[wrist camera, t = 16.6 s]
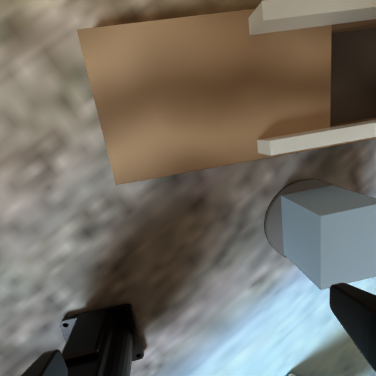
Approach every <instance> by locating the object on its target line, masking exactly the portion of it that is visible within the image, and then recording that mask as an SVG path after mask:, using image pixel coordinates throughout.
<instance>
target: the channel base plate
mask: <svg viewBox="0 0 376 376" xmlns="http://www.w3.org/2000/svg"><path fill="white" fill-rule="evenodd" d="M255 9H256V8H255ZM255 9H247V10H239V11H230V12H222V13H213V14H205V15H196V16H188V17H180V18H171V19H163V20H154V21H146V22H137V23H129V24H121V25H112V26H104V27H95V28H87V29H78V30H77V33H78V37H79V41H80V44H81V48H82V52H83V56H84V60H85V64H86V68H87V72H88V76H89V80H90V84H91V88H92V92H93V96H94V100H95V104H96V108H97V112H98V116H99V120H100V124H101V128H102V132H103V136H104V140H105V144H106V148H107V152H108V156H109V160H110V164H111V167H112V171H113V175H114V179H115V183H116V185H119V184H125V183H130V182H136V181H141V180H147V179H152V178H158V177H163V176H169V175H175V174H180V173H186V172H191V171H197V170H202V169H208V168H214V167H219V166H225V165H230V164H236V163H241V162H247V161H252V160H258V159H264V158H269V157H275V156H280V155H286V154H291V153H297V152H302V151H308V150H314V149H319V148H325V147H330V146H336V145H341V144H347V143H353V142H358V141H364V140H369V139H375V138H376V137H372V138H366V139H361V140H355V141H350V142H344V143H338V144H333V145H327V146H322V147H316V148H311V149H305V150H299V151H294V152H288V153H283V154H277V155H271V156H270V155H265V154H260V153H258V146H257V140H260V139H265V138H271V137H277V136H283V135H289V134H294V133H300V132H306V131H312V130H318V129H324V128H329V127H335V126H341V125H347V124H353V123H358V122H364V121H370V120H376V19H372V20H364V21H357V22H349V23H341V24H333V25H326V26H318V27H310V28H302V29H295V30H287V31H279V32H271V33H264V34H256V35H250V34H249V20H248V18H249V17H250V15H251V14H252V13H253V12H254V10H255Z"/></svg>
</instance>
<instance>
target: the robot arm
mask: <svg viewBox="0 0 376 376" xmlns="http://www.w3.org/2000/svg"><path fill="white" fill-rule="evenodd" d="M330 308H331V310H332V312H333V313H334V315H335V316H336V318H337V319H338V320H339V322H340V323H341V325H342V326H343V328H344V329H345V330H346V332H347V333H348V335H349V336H350V338H351V339H352V340H353V342H354V343H355V345H356V346H357V348H358V349H359V350H360V352H361V353H362V355H363V356H364V357H365V359H366V360H367V361H368V363H369V364H370V365H371V366H372V368H373V369H374V370H375V371H376V295H374V294H371V293H369V292H366V291H364V290H361V289H359V288H356V287H354V286H351V285H349V284H346V283H337V284H333V285H331V287H330ZM125 309H128V310H125ZM66 323H68V324H66ZM60 328H61V330H62V333H63V335H64V338H65V340H66V344H65V346H64V349H63V351H62V353H61V352H60V350H58V349H56V350H52V351H47V352H45V353H43V354H42V355H41V356H40V357H39V358H38V359H37V360H36V361H35V362H34V363H33V364H32V365H31V366H30V367H29V368H28V369H27V370H26V371H25V372H24V373H23V374H22V375H21V376H130V372H131V364H132V361H135V360H139V359H142V358H143V356H144V349H143V345H142V342H141V338H140V334H139V331H138V327H137V323H136V320H135V316H134V312H133V309H132V306H131V305H130V304H122V305H118V306H113V307H109V308H105V309H100V310H96V311H91V312H87V313H82V314H78V315H74V316H69V317H65V318H63V319H62V321H61V323H60Z"/></svg>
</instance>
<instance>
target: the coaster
mask: <svg viewBox="0 0 376 376" xmlns="http://www.w3.org/2000/svg"><path fill="white" fill-rule="evenodd" d="M326 186H331V184H329V183H327V182H324V181H320V180H316V179H305V180H300V181H297V182H294V183H292V184H290V185H288V186H287V187H285V188H284V189H282V190H281V191H280V192H279V193H278V194H277V195H276V196H275V197H274V199H273V200H272V202H271V203H270V205H269V207H268V210H267V212H266V216H265V222H264V228H265V234H266V237H267V239H268V241H269V243H270V244H271V246H272V247H273V248H274V249H275V250H276V251H277V252H278V253H280V254H281V255H283V256H284V257H286V256H285V255H284V247H283V227H282V207H281V196H282V195H287V194H292V193H297V192H302V191H307V190H311V189H316V188H321V187H326Z"/></svg>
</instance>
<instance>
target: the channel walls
mask: <svg viewBox="0 0 376 376" xmlns="http://www.w3.org/2000/svg"><path fill="white" fill-rule="evenodd" d="M372 19H376V0H264V1H261V3H260V4H259V5H258V6H257V8H256V9H255V10H254V12H253V13H252V14H251V15H250V17H249V18H248V20H249V34H250V35H256V34H264V33H271V32H279V31H287V30H295V29H302V28H310V27H318V26H326V25H333V24H341V23H349V22H357V21H364V20H372ZM372 137H376V120H370V121H364V122H358V123H353V124H347V125H341V126H335V127H329V128H324V129H318V130H312V131H306V132H300V133H294V134H289V135H283V136H277V137H271V138H265V139H260V140H257V146H258V153H260V154H265V155H270V156H271V155H277V154H283V153H288V152H294V151H299V150H305V149H311V148H316V147H322V146H327V145H333V144H338V143H344V142H350V141H355V140H361V139H366V138H372Z"/></svg>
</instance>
